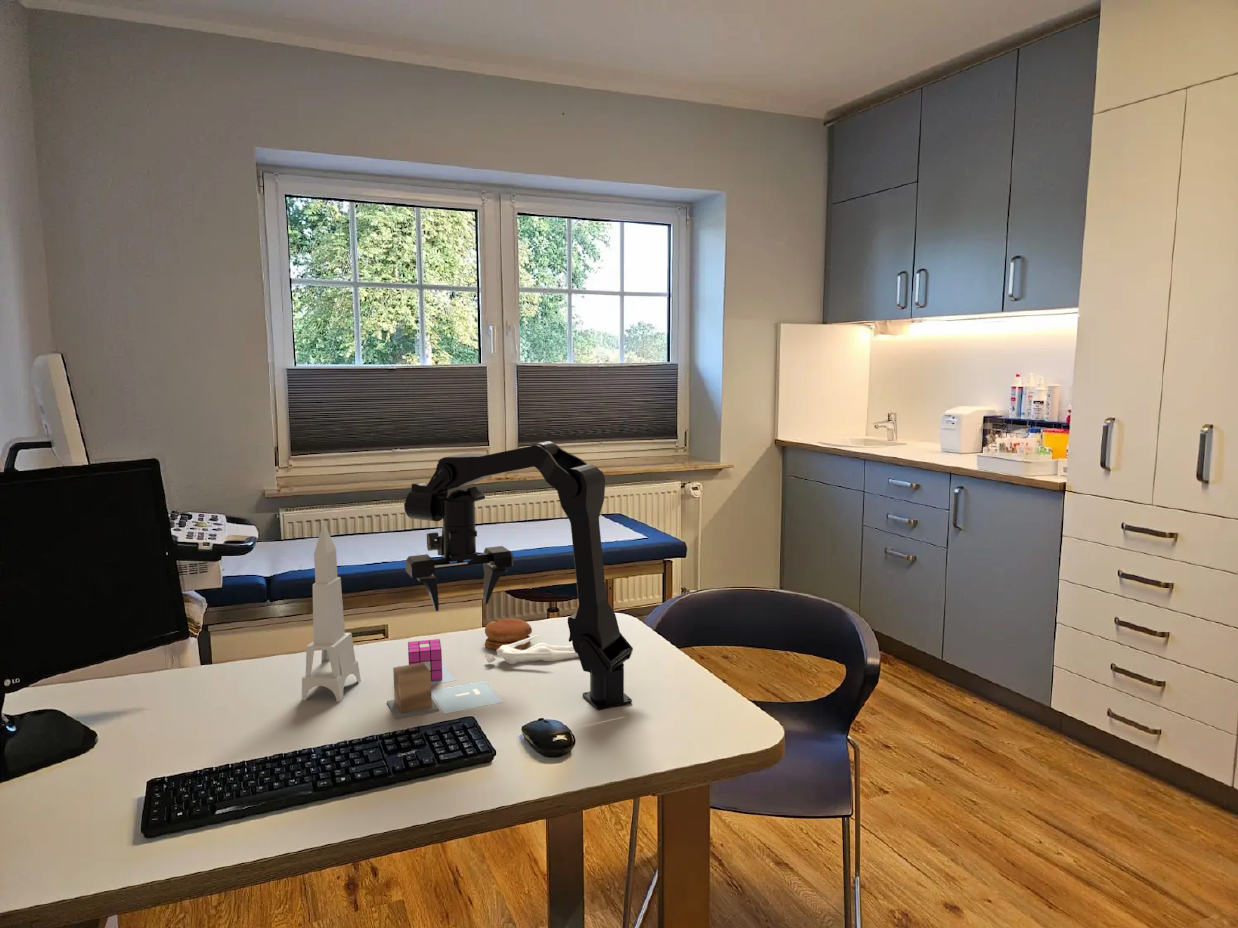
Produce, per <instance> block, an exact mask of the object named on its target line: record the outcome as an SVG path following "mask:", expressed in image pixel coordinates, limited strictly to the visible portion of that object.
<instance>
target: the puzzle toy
mask: <svg viewBox="0 0 1238 928" xmlns="http://www.w3.org/2000/svg"><path fill="white" fill-rule="evenodd" d="M442 652H443V651H442V646H441V640H440V638H438V639H436V638H435V639H425V640H414V641H412V640H411V641H408V642H407V655H408V665H412V664H417V663H424V664H425V666H426V667H427V668H428V670H429V671H430V672H431V681H435V680H442V663H443V660H442V657H443V656H442Z"/></svg>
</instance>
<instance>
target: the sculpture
mask: <svg viewBox="0 0 1238 928" xmlns="http://www.w3.org/2000/svg"><path fill="white" fill-rule="evenodd" d="M313 558H314V559H313V561H314V578H315V580H314V581H315V582H314V583H313V584H312V623H313V624H312V628H313V630H312V632H313V640H312V641H311V642H310V643H309V644H307V645H306V648H305V649H306V653H305V654H306V656H305V674H304V675H303V676H302V677H301V700H302V701H307V696H308V693H309V692H310V691H311V689H313V688H315V687H325V688H327V689H329V690H330V691H331V692H332V693H333V695H334V696H335V700H336V702H337V703H340V702H343V699H344V697H345V696H344V687H345V683H346V679H347V678H348V677H349V675H354V677H355V678H356V682H357V684H358V685H359V684H360V683H361V682H362V680H361V679H362V678H361V673H360V667H359V661H358V660H356V655H355V647H354V640H353V635H352V634H353V633H352V632H346V631H345V630H346V629H345V618H344V617H345V616H344V605H343V593H342V579H341V576H338V560H337V558H338V557H337V548H336V546H335V544H334V541H333V539H332V536H331V535H330V533H329V531H328V527H327V526H326V524H325V522H322V526H321V530H320V533H319V536H318V539H317V543H316V546H315V549H314V552H313ZM315 650H321V661H320V662H319V663H318V664H317V665H315V666H314V667H313V662H314V655H315V654H314V653H315Z"/></svg>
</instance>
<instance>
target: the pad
mask: <svg viewBox="0 0 1238 928" xmlns="http://www.w3.org/2000/svg"><path fill="white" fill-rule="evenodd" d="M386 703H387V705H388V707H389V709H390V712H391V714H392V716H393V717H394V719H395V720H400V719H407V718H410V717H415V716H420V715H421V716H422V715H424V714H431V713H435V712H439V711H440V707H438V704H437V703H436V701H435V699H433V698H432V708H427V709H422V710H417V711H412V712H407V713H402V714H401V712H400V711H399V709H398V707H397V705H396V704H395V699H390V700H387V701H386Z"/></svg>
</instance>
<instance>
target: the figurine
mask: <svg viewBox="0 0 1238 928" xmlns="http://www.w3.org/2000/svg"><path fill="white" fill-rule="evenodd" d="M538 637H539V635H538V634H536V635H533V636H530V638H527V639H524V640H521V641H518V642H515V643H512V644H509V645H502V646H500V648H499V649H497V650H496V649H495V651H496V653H495V654H496V655H497V656H499V657H501V659H503V660H504V661H505V663H507V664H509V665H516V664H517V663H525V662H526V663H527V662H538V661H543V662H556V661H564V660H568V659H574V658H579V656H578V653H576V652H575V651H574V648H573V645H572V644H571V645H566V646H564V645H563V646H562V645H551V644H547V643H545V642H539V643H536V644H535V645H532V646H531V647H528V648H526V649H520V650H518V649H515V648H514V647H516V646H518V645H520V644H525V643H526V642H528V641H530V642H531V641H532V640H534V639H536V638H538ZM484 661H485V662H487V663H493V662H495V661H496V657H495V656H494V655H493V654H491V653H486V654H484Z"/></svg>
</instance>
